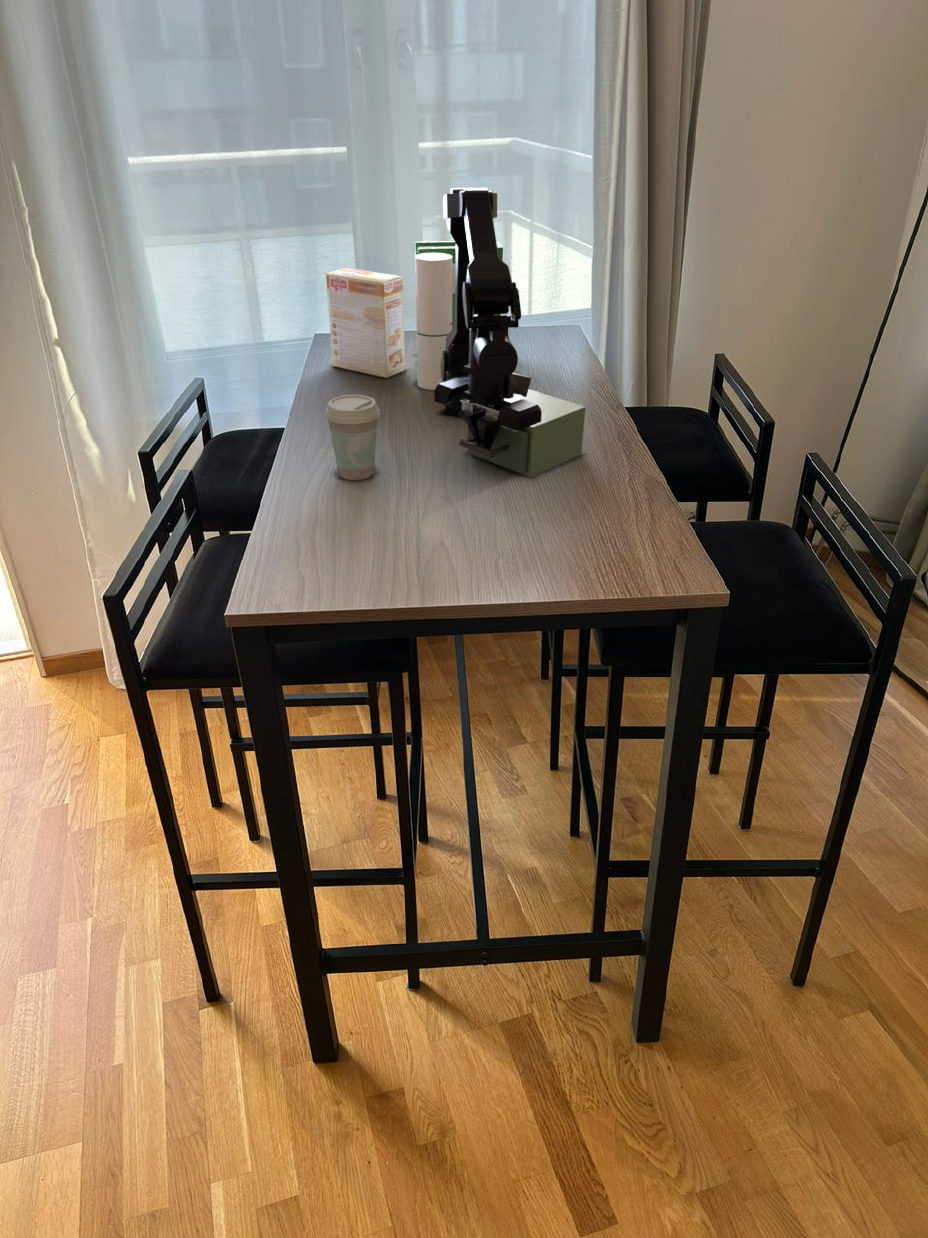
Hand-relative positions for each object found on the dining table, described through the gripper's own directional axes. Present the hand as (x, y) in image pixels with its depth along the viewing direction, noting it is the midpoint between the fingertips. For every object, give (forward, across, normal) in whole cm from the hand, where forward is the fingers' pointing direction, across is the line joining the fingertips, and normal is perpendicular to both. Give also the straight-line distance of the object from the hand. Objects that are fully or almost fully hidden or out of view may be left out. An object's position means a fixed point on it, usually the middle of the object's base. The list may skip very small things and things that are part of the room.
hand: (485, 453), depth 146 cm
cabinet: (+3, 0, -10) cm, 11 cm away
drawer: (+2, 0, -6) cm, 6 cm away
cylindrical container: (+3, +38, -25) cm, 45 cm away
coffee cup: (+3, +14, +16) cm, 21 cm away
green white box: (+3, +47, -41) cm, 62 cm away
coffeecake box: (+4, +55, -22) cm, 59 cm away
